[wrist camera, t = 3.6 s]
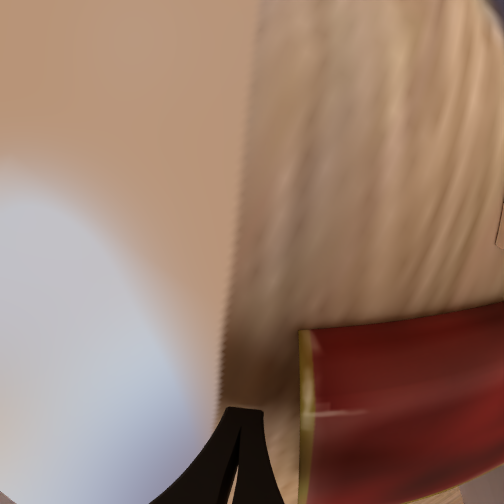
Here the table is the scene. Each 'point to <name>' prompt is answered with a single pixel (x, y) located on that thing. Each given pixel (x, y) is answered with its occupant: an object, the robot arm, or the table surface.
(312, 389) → the hardcover book
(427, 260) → the table surface
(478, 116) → the table surface
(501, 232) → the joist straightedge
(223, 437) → the robot arm
